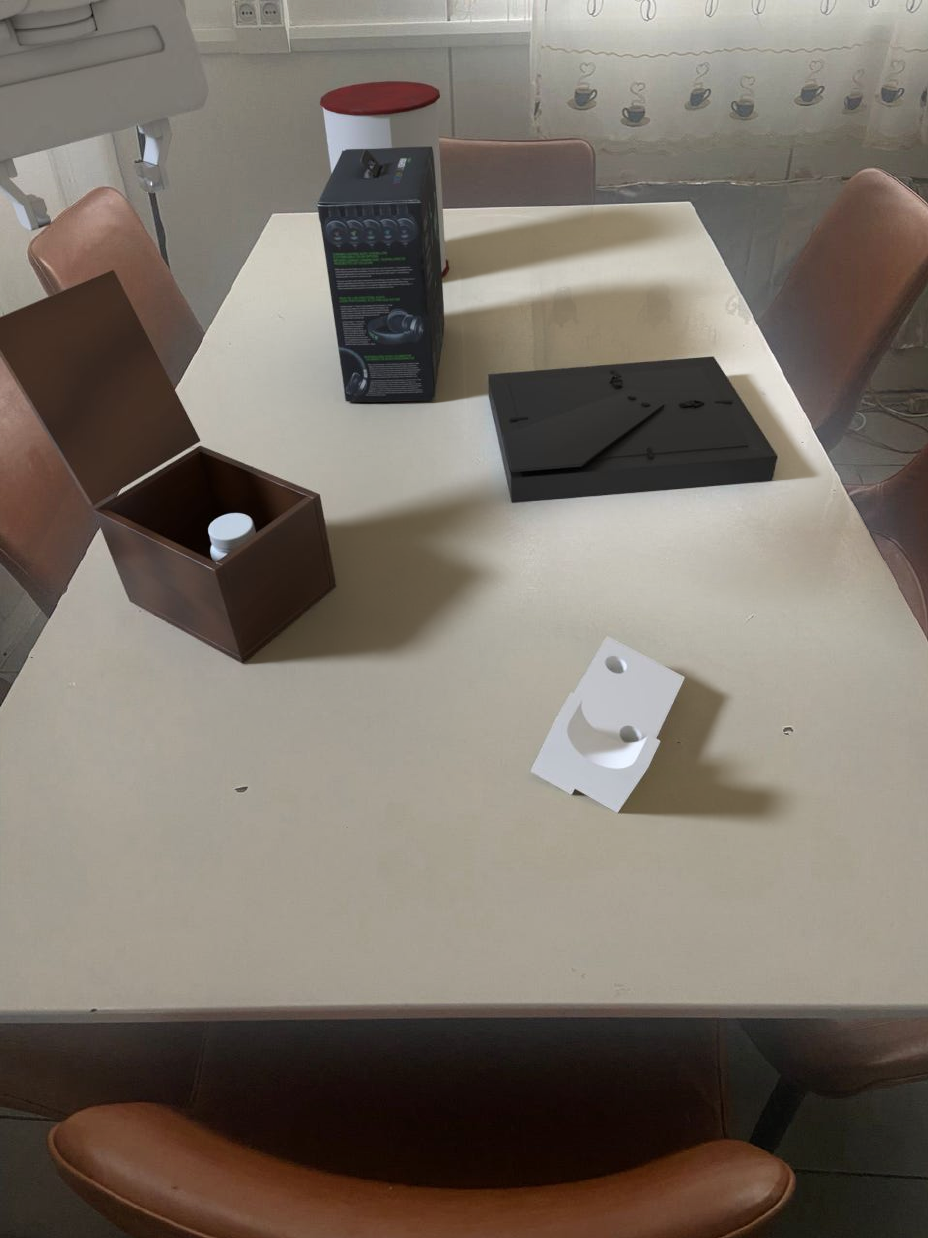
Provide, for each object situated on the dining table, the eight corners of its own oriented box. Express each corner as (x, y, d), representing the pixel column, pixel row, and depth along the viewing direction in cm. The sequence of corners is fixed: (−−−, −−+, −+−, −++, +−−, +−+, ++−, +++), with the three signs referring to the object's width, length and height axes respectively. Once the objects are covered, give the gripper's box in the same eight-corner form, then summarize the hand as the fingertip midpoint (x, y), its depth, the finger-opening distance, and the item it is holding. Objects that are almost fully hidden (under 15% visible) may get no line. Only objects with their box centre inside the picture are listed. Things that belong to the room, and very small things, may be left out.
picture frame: (511, 502, 95) (772, 480, 96) (511, 469, 92) (780, 447, 93) (488, 396, 112) (710, 378, 113) (487, 365, 109) (715, 347, 110)
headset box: (363, 327, 129) (339, 129, 111) (446, 325, 128) (435, 125, 111) (342, 405, 112) (310, 187, 95) (437, 403, 112) (422, 183, 94)
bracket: (613, 818, 66) (648, 767, 61) (530, 771, 68) (556, 716, 62) (669, 702, 75) (704, 647, 69) (594, 661, 76) (622, 604, 70)
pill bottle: (281, 582, 86) (264, 510, 80) (268, 615, 82) (249, 542, 77) (233, 580, 86) (213, 509, 81) (218, 613, 83) (196, 541, 77)
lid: (113, 268, 77) (109, 270, 78) (-15, 323, 70) (-20, 324, 71) (201, 440, 85) (196, 441, 86) (93, 505, 78) (89, 505, 78)
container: (373, 245, 152) (355, 78, 136) (466, 256, 147) (459, 83, 130) (323, 284, 141) (296, 106, 124) (421, 297, 135) (407, 113, 119)
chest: (336, 586, 86) (320, 494, 79) (243, 664, 79) (214, 570, 72) (225, 534, 93) (200, 445, 86) (129, 601, 86) (93, 510, 78)
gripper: (146, -56, 61) (196, 162, 70) (-167, -10, 51) (-59, 239, 60) (198, -51, 58) (243, 177, 67) (-125, -1, 47) (-18, 261, 57)
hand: (98, 207), depth 63 cm, fingers open, 8 cm apart
